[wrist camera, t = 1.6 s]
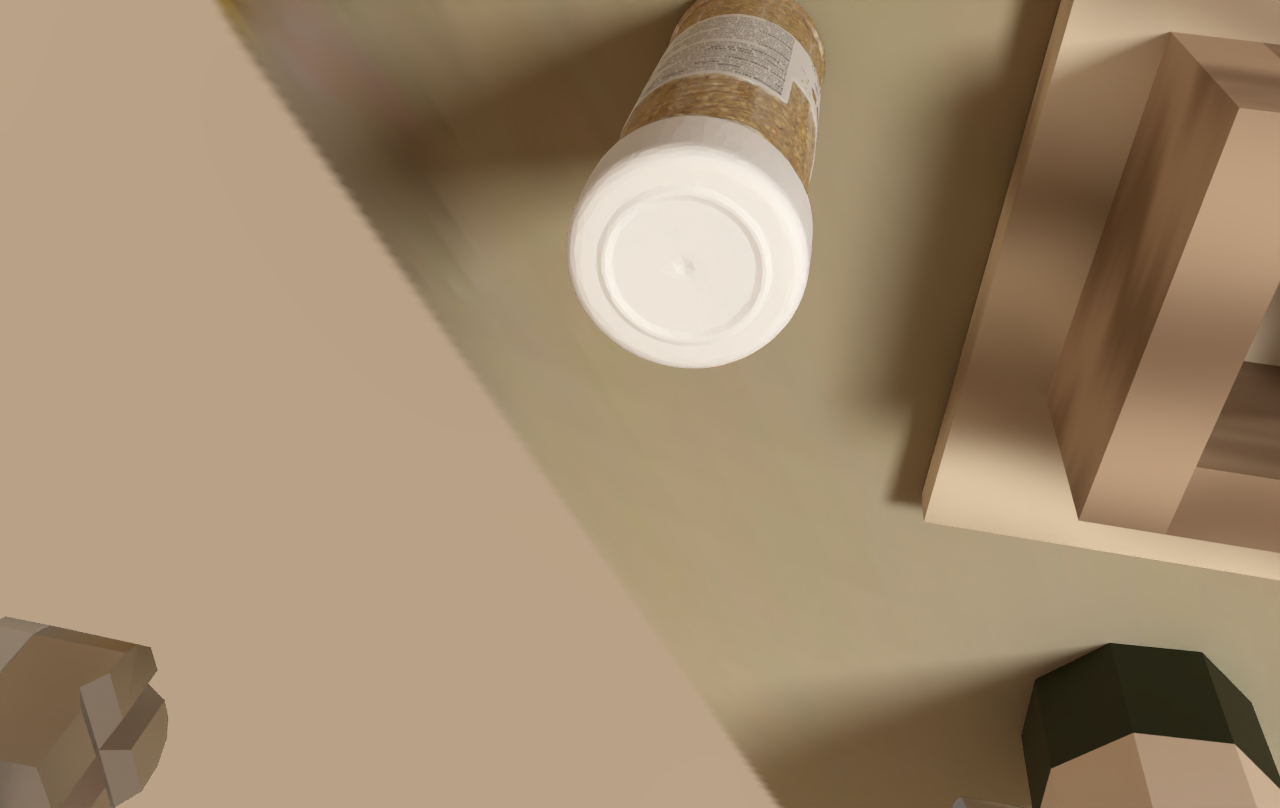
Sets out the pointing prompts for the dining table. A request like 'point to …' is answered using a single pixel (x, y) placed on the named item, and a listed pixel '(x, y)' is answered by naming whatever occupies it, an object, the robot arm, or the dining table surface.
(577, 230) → the sprinkles bottle
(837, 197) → the dining table surface
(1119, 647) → the wine bottle
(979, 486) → the holder board
